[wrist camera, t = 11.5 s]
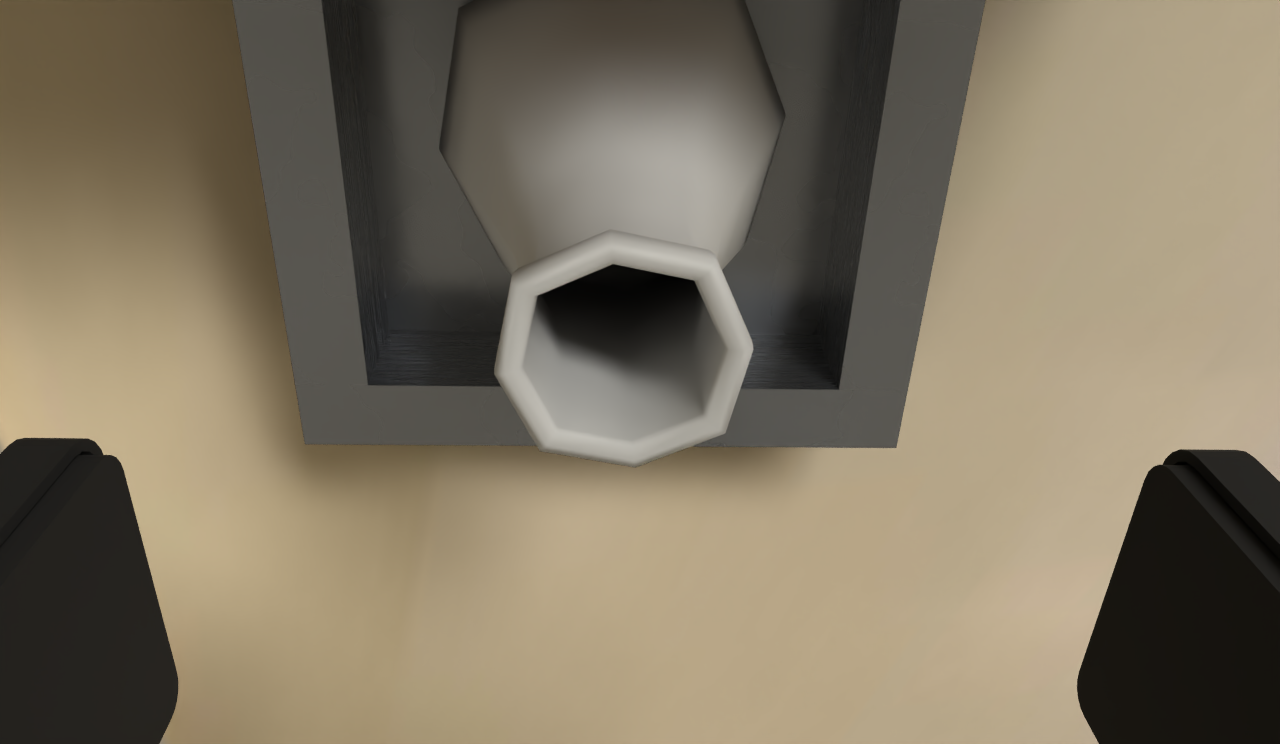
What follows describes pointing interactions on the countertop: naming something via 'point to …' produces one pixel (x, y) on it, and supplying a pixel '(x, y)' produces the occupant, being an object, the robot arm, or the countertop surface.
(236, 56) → the countertop surface
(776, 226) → the cup bracket
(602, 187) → the flask
